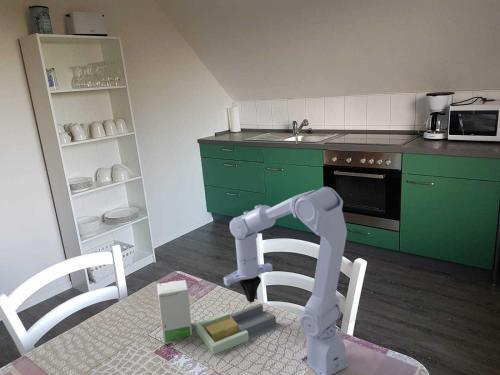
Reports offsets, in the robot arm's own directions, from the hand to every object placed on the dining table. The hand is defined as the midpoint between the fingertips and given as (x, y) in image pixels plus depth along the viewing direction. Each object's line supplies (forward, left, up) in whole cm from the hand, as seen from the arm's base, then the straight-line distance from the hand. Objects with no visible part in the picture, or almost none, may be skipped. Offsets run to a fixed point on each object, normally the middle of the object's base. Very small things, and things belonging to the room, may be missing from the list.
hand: (250, 300), depth 113 cm
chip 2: (0, +7, -8) cm, 11 cm away
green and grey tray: (0, +5, -9) cm, 10 cm away
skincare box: (+9, +20, -9) cm, 23 cm away
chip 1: (0, +11, -8) cm, 14 cm away
